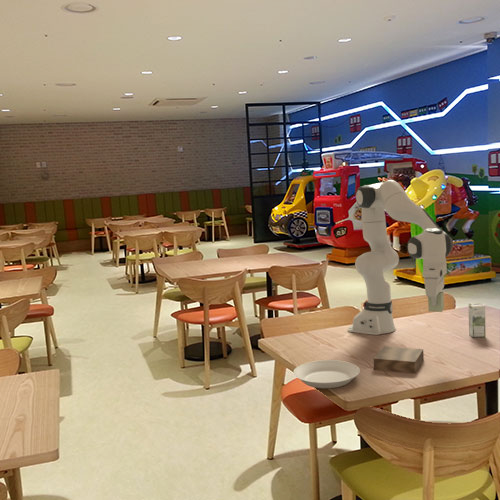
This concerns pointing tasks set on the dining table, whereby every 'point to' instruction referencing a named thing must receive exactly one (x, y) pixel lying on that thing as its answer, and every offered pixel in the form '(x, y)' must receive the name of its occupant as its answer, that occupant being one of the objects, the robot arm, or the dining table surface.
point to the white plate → (326, 373)
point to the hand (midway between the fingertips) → (435, 303)
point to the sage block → (440, 303)
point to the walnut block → (398, 359)
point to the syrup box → (477, 320)
